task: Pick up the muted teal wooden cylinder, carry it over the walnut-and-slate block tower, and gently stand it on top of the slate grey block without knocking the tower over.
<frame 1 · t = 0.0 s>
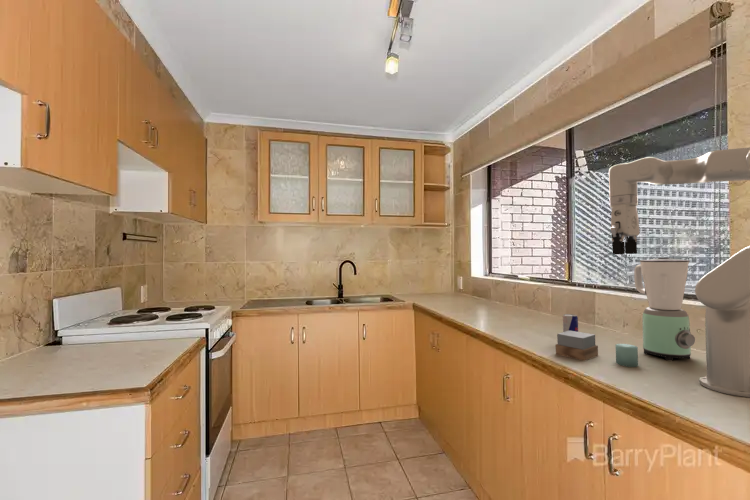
hand: (625, 253, 114), 37 cm above the counter, tool pointing down, fingers open, 9 cm apart
tower base block: (576, 356, 127), on the counter, touching tower top block
mint green blender: (664, 355, 124), on the counter
teal cylinder: (626, 364, 115), on the counter
tower top block: (576, 345, 127), point 3 cm above the counter, touching tower base block
energy drink: (571, 345, 140), on the counter
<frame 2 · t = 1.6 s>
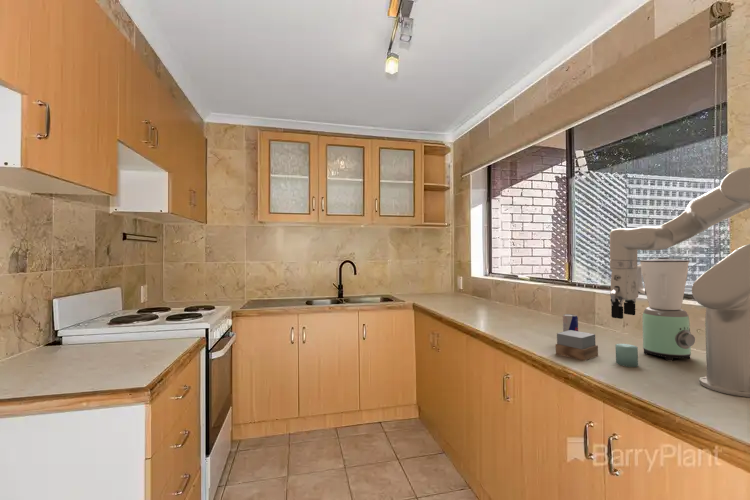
hand: (623, 316, 116), 16 cm above the counter, tool pointing down, fingers open, 9 cm apart
nothing on the counter moved.
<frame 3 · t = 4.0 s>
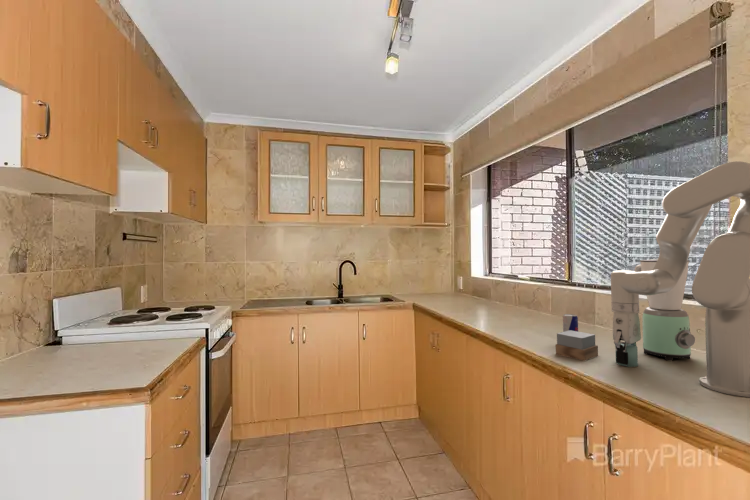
hand: (626, 361, 115), 1 cm above the counter, tool pointing down, fingers closed on teal cylinder, 6 cm apart
teal cylinder: (626, 363, 115), on the counter, touching gripper
everything else where it was.
when the fingers open (10 cm above the counter, at t = 10.3 s): teal cylinder drops 1 cm, point 8 cm above the counter.
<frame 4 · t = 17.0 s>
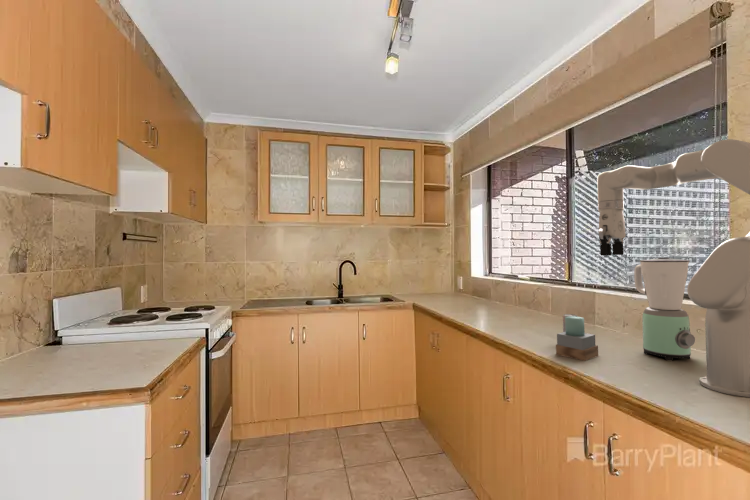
hand: (612, 255, 122), 36 cm above the counter, tool pointing down, fingers open, 9 cm apart
teal cylinder: (575, 334, 126), point 8 cm above the counter
everything else where it was.
at the end: teal cylinder 0.2 cm off-centre on the tower top block, point 4.0 cm above the tower top block's base; teal cylinder tilted 0°; tower top block tilted 0° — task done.
